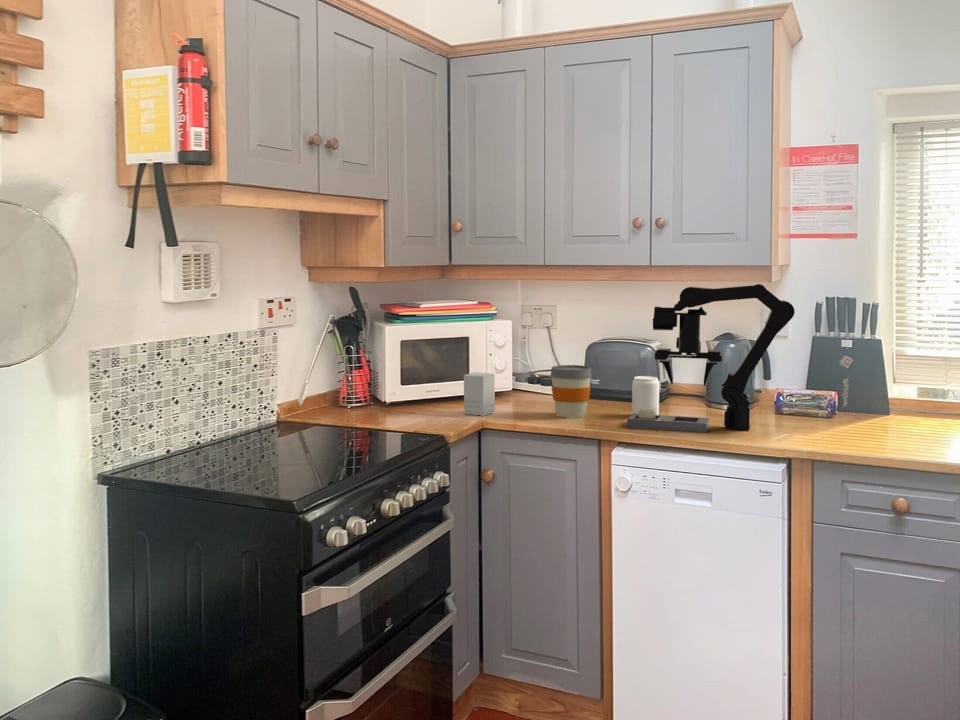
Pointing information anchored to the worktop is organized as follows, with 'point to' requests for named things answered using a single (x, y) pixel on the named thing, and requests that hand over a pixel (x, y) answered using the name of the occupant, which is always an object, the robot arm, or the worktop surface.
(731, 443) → the worktop surface
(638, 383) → the beverage can
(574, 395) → the reusable coffee cup
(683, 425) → the grey compartment tray
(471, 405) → the supplement box
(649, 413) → the block
